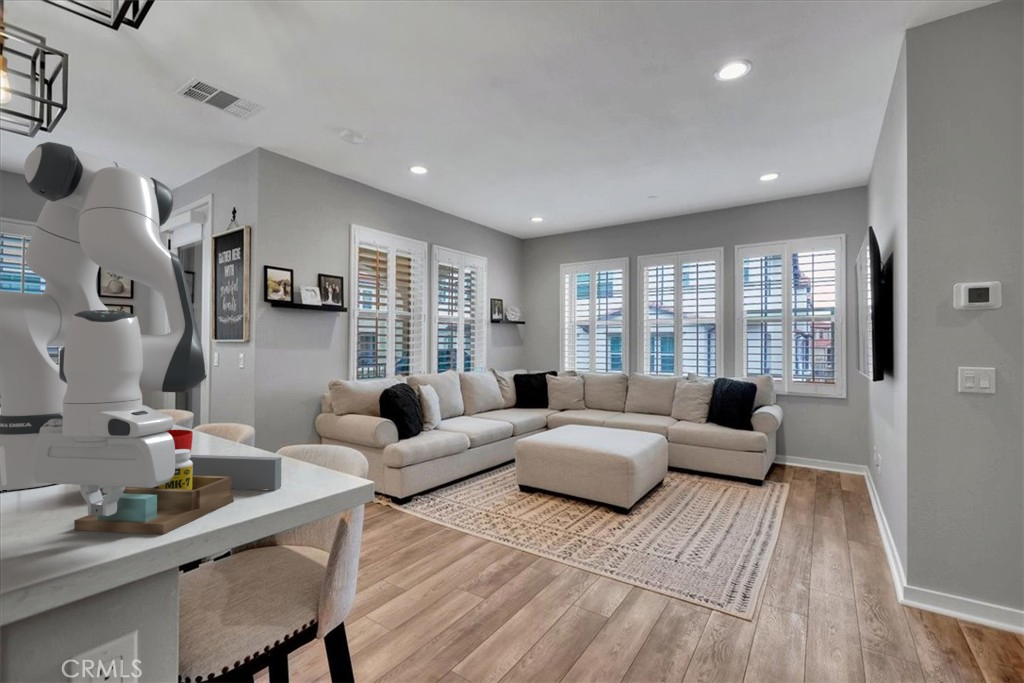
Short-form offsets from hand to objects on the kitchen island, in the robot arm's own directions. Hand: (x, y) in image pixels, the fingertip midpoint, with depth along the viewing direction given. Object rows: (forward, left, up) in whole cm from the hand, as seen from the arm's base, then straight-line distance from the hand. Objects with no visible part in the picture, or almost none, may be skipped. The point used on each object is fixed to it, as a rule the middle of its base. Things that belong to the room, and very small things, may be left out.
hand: (102, 514), depth 69 cm
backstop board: (+1, +25, -4) cm, 26 cm away
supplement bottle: (0, +13, -2) cm, 13 cm away
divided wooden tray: (0, +10, -4) cm, 11 cm away
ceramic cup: (-18, +27, -4) cm, 32 cm away
